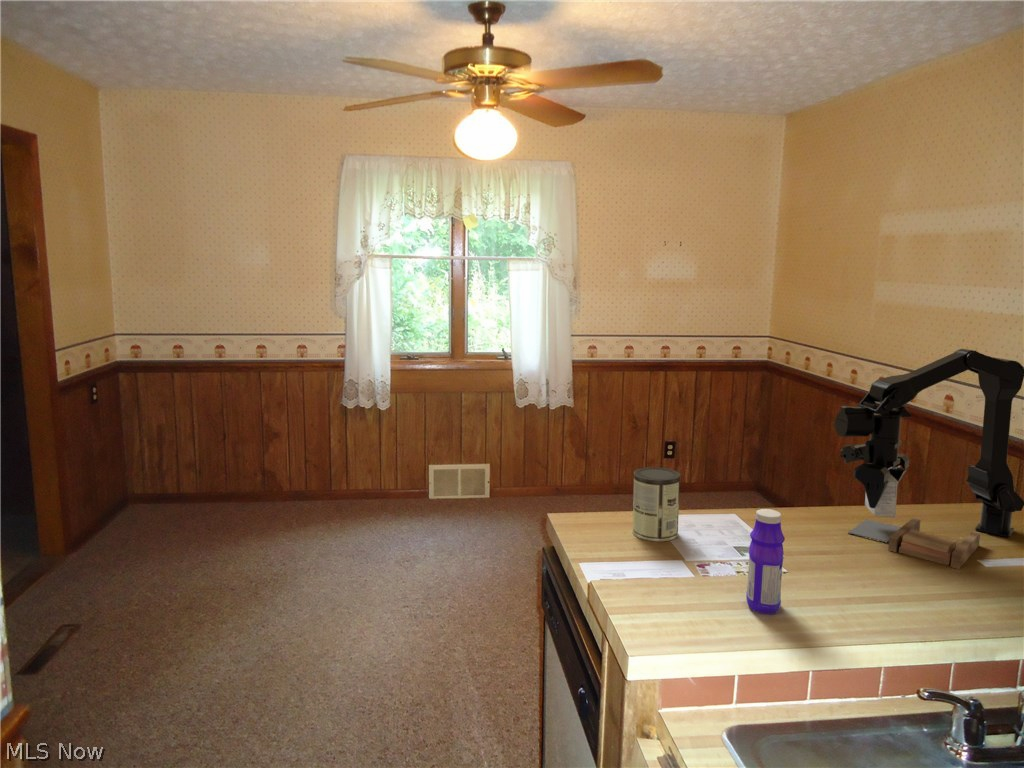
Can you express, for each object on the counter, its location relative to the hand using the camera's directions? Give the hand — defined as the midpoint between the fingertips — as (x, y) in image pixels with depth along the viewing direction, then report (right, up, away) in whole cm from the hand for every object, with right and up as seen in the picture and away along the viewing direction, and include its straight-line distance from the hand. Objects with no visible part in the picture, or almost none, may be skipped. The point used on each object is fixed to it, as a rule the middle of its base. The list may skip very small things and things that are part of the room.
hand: (879, 503), depth 155 cm
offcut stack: (+4, -9, -12) cm, 15 cm away
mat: (0, -7, +1) cm, 7 cm away
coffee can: (-51, -7, 0) cm, 52 cm away
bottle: (-39, -13, -34) cm, 54 cm away
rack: (+7, -8, -8) cm, 14 cm away
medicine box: (0, -2, 0) cm, 2 cm away
